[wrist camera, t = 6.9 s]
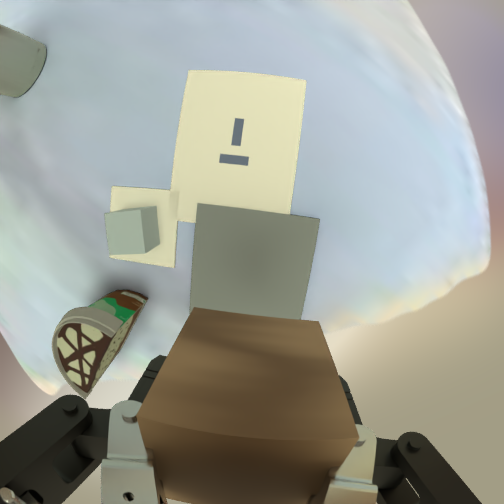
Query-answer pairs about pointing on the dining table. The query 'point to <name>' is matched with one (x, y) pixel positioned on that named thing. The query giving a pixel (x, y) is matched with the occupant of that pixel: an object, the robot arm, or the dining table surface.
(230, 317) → the block
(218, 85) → the plaque
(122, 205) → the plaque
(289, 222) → the mat
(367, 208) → the dining table surface
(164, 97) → the dining table surface
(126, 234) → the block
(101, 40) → the dining table surface
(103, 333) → the food container
